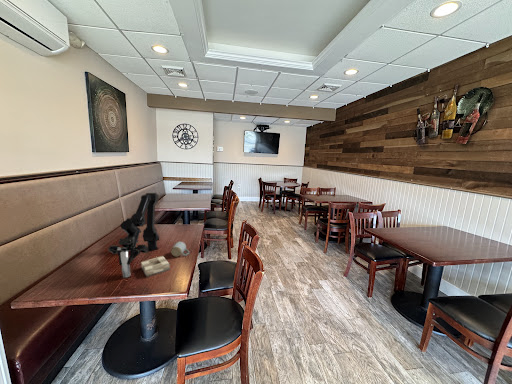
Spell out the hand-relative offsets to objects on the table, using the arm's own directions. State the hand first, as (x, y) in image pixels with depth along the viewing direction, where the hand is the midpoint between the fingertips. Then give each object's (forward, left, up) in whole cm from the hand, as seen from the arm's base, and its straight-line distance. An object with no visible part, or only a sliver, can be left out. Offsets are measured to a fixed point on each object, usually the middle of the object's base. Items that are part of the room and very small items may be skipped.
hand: (124, 264), depth 110 cm
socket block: (+1, +15, -7) cm, 17 cm away
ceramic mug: (-8, +33, -8) cm, 35 cm away
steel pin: (-1, +1, -7) cm, 7 cm away
